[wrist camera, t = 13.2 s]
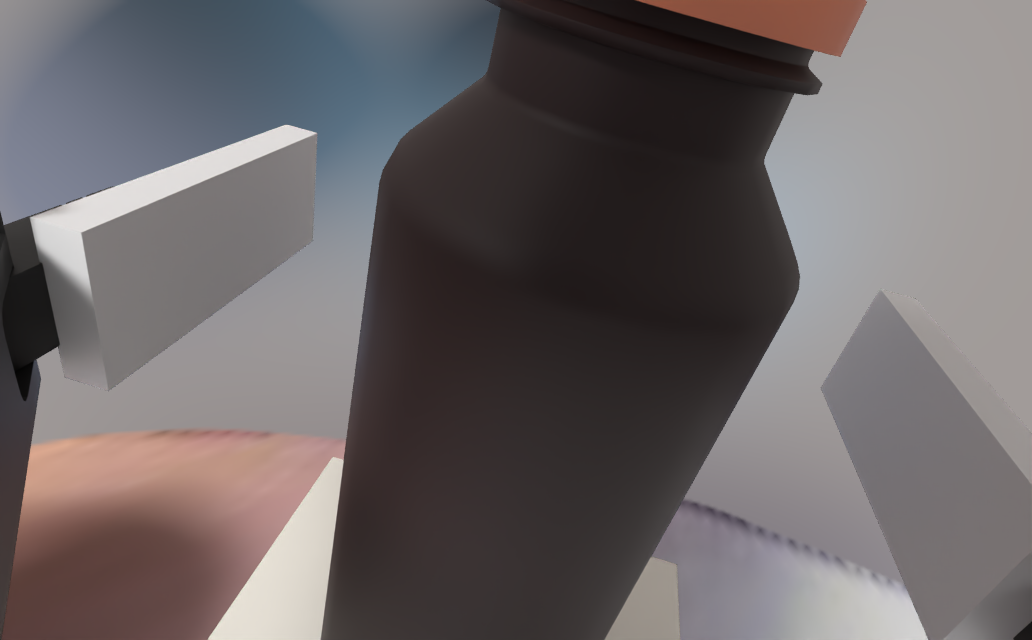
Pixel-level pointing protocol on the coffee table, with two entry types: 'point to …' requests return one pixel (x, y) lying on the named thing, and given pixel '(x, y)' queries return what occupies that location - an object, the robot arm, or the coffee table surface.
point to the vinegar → (565, 312)
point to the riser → (305, 572)
